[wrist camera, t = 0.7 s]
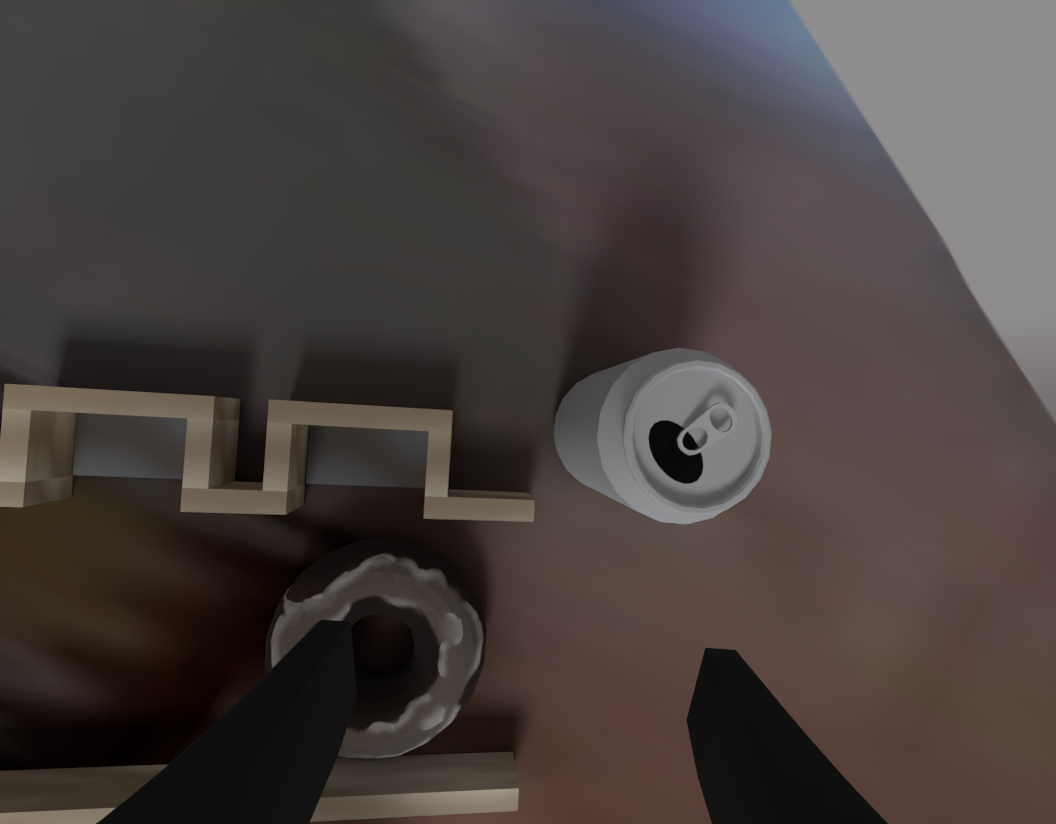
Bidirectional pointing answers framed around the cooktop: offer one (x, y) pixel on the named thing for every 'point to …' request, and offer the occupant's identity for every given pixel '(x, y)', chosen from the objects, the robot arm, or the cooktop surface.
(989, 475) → the cooktop surface
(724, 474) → the can
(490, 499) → the beige square zigzag bar
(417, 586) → the donut
